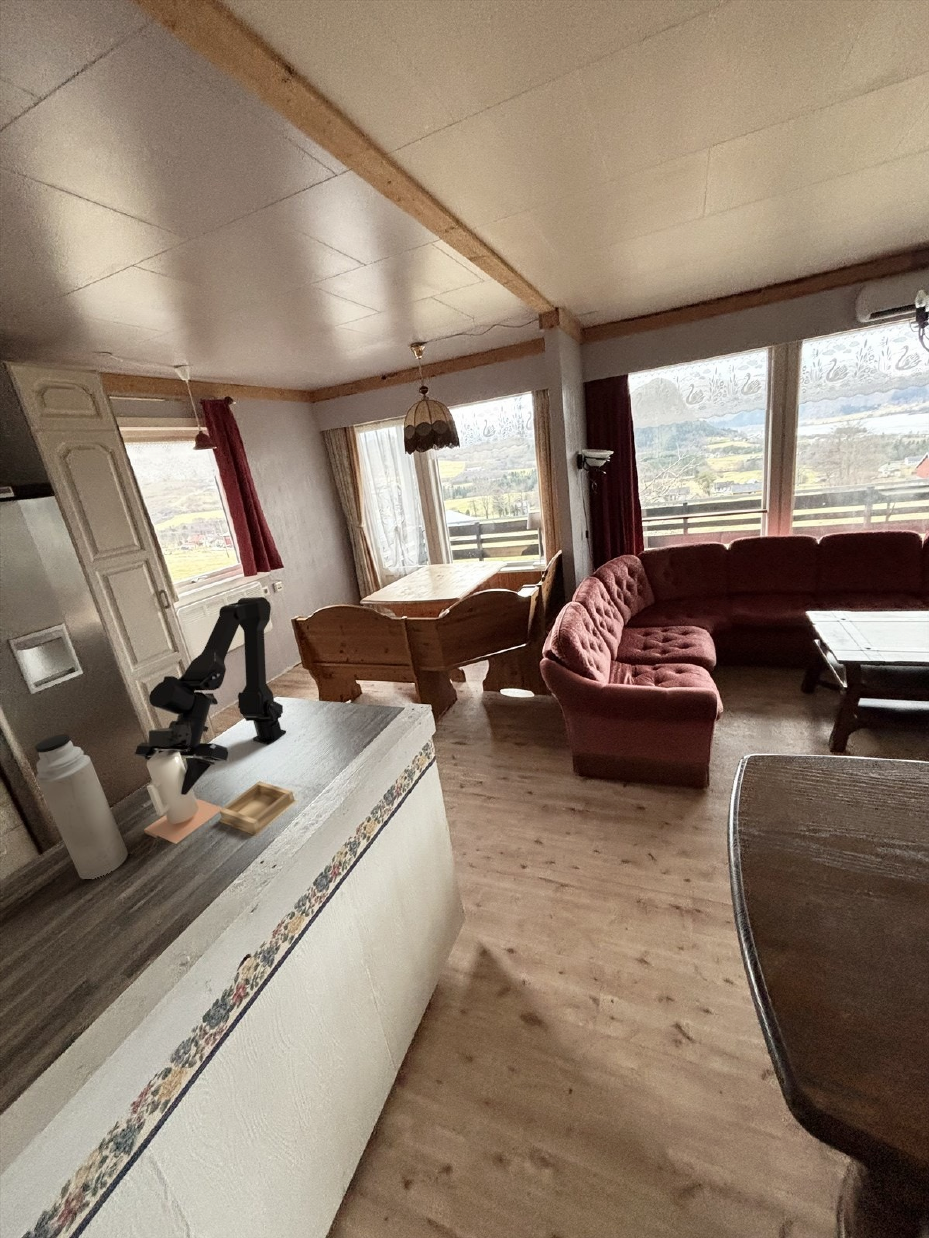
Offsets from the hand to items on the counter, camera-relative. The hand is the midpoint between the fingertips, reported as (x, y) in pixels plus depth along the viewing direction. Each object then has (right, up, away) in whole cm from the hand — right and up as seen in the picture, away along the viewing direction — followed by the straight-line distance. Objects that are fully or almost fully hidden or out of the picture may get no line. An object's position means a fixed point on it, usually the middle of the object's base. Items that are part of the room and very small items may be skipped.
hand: (170, 794), depth 103 cm
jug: (+1, -6, +2) cm, 6 cm away
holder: (+17, -6, +4) cm, 18 cm away
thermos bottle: (-10, -12, -5) cm, 16 cm away
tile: (+1, -7, +4) cm, 8 cm away
